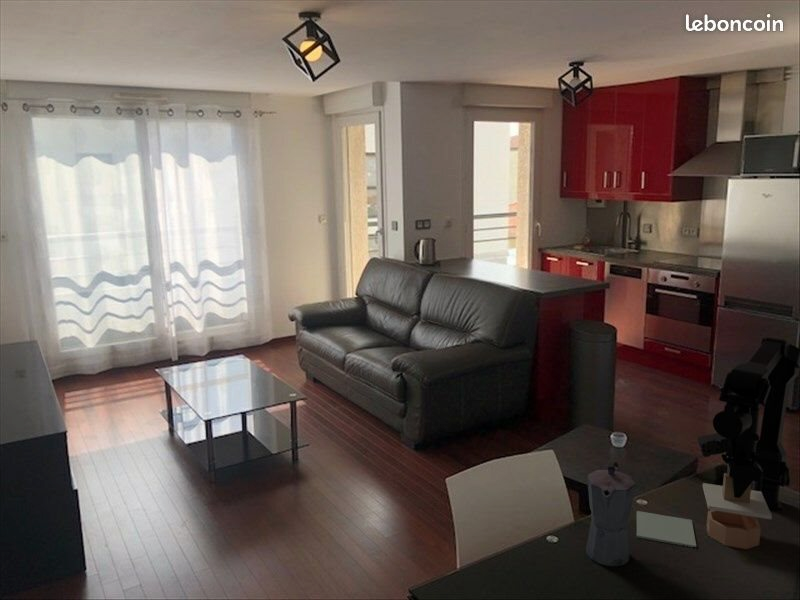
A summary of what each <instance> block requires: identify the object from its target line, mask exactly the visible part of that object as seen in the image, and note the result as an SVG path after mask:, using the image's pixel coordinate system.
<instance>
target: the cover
mask: <svg viewBox="0 0 800 600" xmlns="http://www.w3.org/2000/svg"><path fill="white" fill-rule="evenodd" d="M752 483H753V482H752ZM752 483H751V484H750V485H749V487H748V488H747V489H746V491H745V492H744V493H743V495H742V496H741V497H740V498H736V497H735V496H734V489H733V479H732V477H729V475H728V472H724V473H723V481H722V485H718V484H712V483H706V482H705V483H704V482H703V483H702V489H703V493H704V497H705V502H706V506H707V509H708V511H710V510H716V511H722V512H728V513H734V514H740V515H747V516H752V517H754V518H760V519H767V520H772V519H773V518H772V517H773V515H772V513H771V510H770V508H768V506H767V504H766V501H765V499H764V497H763V495H762V492H760V491H753V489H752Z"/></svg>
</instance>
